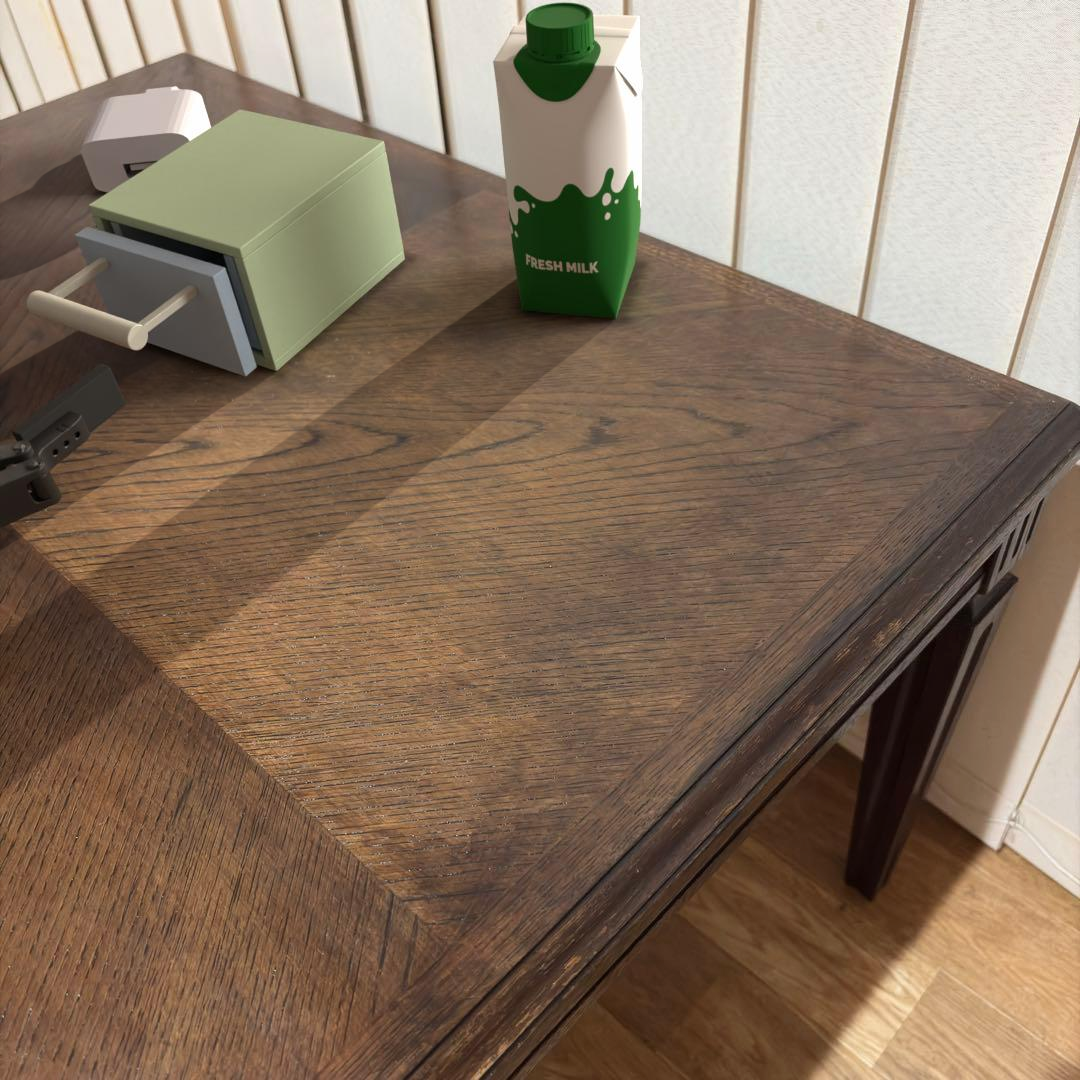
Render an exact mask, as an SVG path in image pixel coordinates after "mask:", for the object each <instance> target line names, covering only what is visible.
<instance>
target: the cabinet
mask: <svg viewBox="0 0 1080 1080" xmlns="http://www.w3.org/2000/svg"><path fill="white" fill-rule="evenodd" d="M389 167H390V166H389V161H388V155H387V151H386V146H385V141H384V140H381V139H376V138H371V137H367V136H362V135H357V134H353V133H349V132H344V131H339V130H335V129H331V128H325V127H322V126H317V125H312V124H307V123H304V122H300V121H294V120H290V119H286V118H280V117H276V116H271V115H267V114H262V113H258V112H253V111H250V110H249V111H248V110H245V109H237V110H236V111H235V112H233V113H231V114H230V115H229V116H227V117H225V118H224V119H222V120H221V121H219V122H218V123H216V124H214V125H213V126H211V128H210V129H208V130H206V131H205V132H203V133H202V134H200V135H198V136H197V137H195V138H194V139H192V140H191V141H189V142H187V143H186V144H184V145H183V146H181V147H179V148H178V149H176V150H175V151H173V152H172V153H170V154H168V155H167V156H165V157H164V158H162V159H160V160H159V161H157V162H156V163H154V164H153V165H151V166H149V167H148V168H146V169H145V170H143V171H141V172H140V173H138V174H137V175H135V176H134V177H132V178H130V179H129V180H127V181H126V182H124V183H123V184H121V185H119V186H118V187H116V188H115V189H113V190H111V191H110V192H106V193H105V194H104V195H102V196H100V197H99V198H97V199H96V200H94V201H93V202H91V203H89V204H88V209H89V211H90V213H91V217H92V219H93V222H94V224H95V228H96V229H98V230H101V231H104V232H108V233H111V234H114V235H115V232H114V230H113V227H112V225H111V221H113V222H117V223H120V224H124V225H127V226H130V227H134V228H137V229H141V230H144V231H147V232H151V233H154V234H158V235H161V236H165V237H168V238H171V239H175V240H178V241H182V242H185V243H188V244H192V245H195V246H199V247H202V248H206V249H209V250H212V251H216V252H219V253H223V254H226V255H230V256H233V257H234V260H235V263H236V266H237V270H238V273H239V276H240V279H241V282H242V286H243V289H244V292H245V295H246V299H247V302H248V305H249V308H250V312H251V315H252V318H253V321H254V325H255V328H256V331H257V334H258V337H259V341H260V344H261V347H262V349H261V350H259V349H256V348H253V347H251V350H252V353H253V356H254V359H255V363H256V366H260V367H263V368H265V369H269V370H272V371H275V372H277V371H279V370H280V369H281V368H282V367H283V366H285V365H286V363H288V362H289V361H291V359H293V358H294V357H295V356H296V355H297V354H298V353H300V352H301V351H302V350H303V349H304V348H305V347H307V346H308V345H309V344H310V343H311V342H312V341H313V340H315V338H317V337H318V336H319V335H321V333H323V331H325V330H326V329H327V328H328V327H329V326H330V325H332V324H333V323H334V322H335V321H336V320H337V319H339V317H341V316H342V315H343V314H344V313H345V312H347V310H348V309H350V308H351V307H352V306H353V305H355V304H356V303H357V302H358V301H359V300H360V299H362V297H364V296H365V295H366V294H367V293H368V292H369V291H370V290H371V289H373V288H374V287H375V286H376V285H377V284H378V283H380V282H381V281H382V280H383V279H384V278H385V277H386V276H388V275H389V274H390V273H391V272H392V271H394V270H395V269H396V268H397V267H398V266H399V265H400V264H402V262H404V261H405V260H406V257H405V252H404V246H403V239H402V235H401V229H400V223H399V217H398V212H397V211H398V210H397V206H396V200H395V195H394V188H393V183H392V177H391V173H390V168H389Z"/></svg>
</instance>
